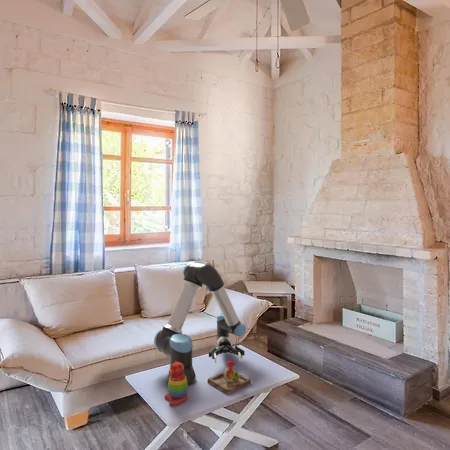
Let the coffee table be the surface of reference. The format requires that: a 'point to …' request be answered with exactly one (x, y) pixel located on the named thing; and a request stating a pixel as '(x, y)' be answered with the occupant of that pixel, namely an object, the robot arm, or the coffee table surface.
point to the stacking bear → (177, 385)
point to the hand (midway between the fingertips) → (228, 359)
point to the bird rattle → (230, 372)
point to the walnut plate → (229, 387)
